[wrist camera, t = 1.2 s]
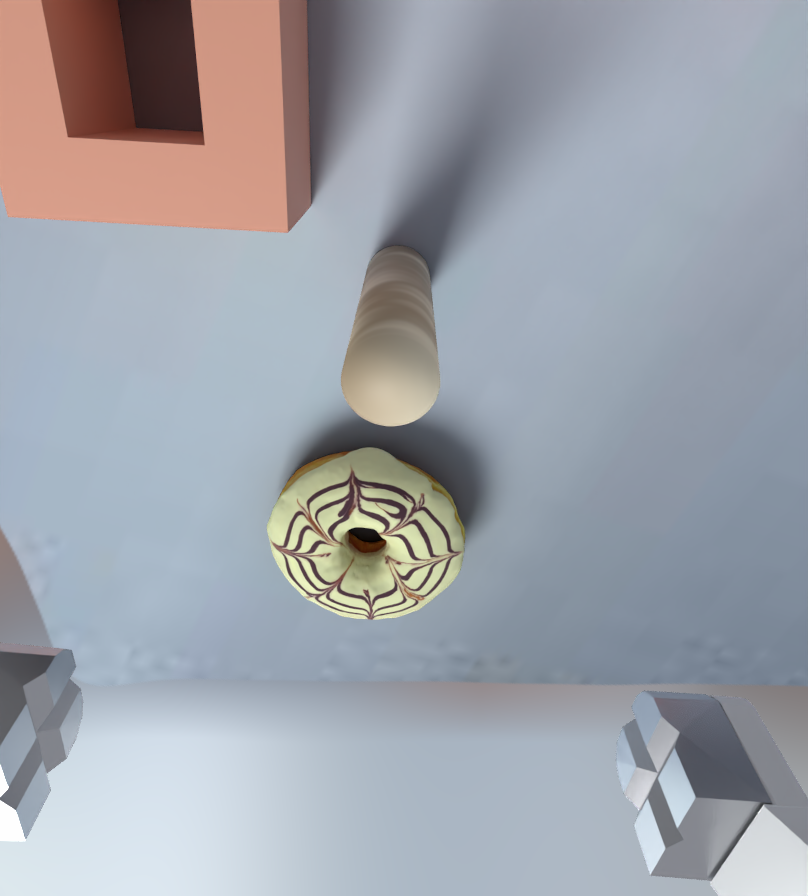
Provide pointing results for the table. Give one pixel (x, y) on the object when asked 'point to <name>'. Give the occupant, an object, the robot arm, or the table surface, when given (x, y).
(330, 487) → the decorated donut
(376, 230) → the table surface
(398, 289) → the rounded cream peg
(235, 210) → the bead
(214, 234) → the table surface
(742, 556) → the table surface
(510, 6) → the table surface
